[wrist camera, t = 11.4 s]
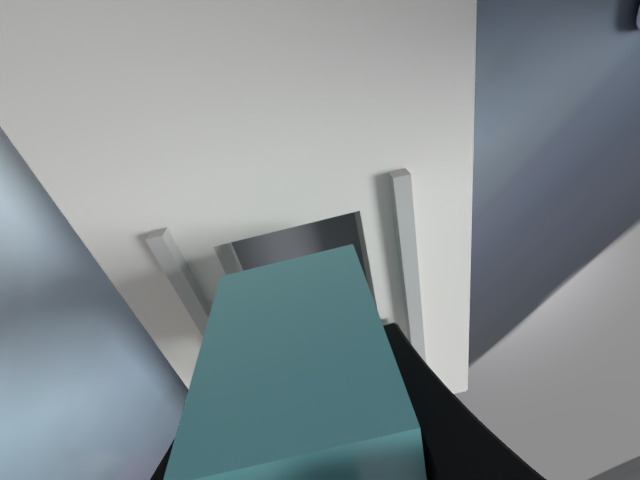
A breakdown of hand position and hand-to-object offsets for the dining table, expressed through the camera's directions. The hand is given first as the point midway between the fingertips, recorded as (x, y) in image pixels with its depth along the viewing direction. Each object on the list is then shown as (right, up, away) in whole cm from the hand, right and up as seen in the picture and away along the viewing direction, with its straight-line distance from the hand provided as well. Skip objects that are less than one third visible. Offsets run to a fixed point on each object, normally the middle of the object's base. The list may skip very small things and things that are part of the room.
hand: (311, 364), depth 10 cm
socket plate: (-1, +4, +5) cm, 6 cm away
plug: (0, +1, +1) cm, 2 cm away
